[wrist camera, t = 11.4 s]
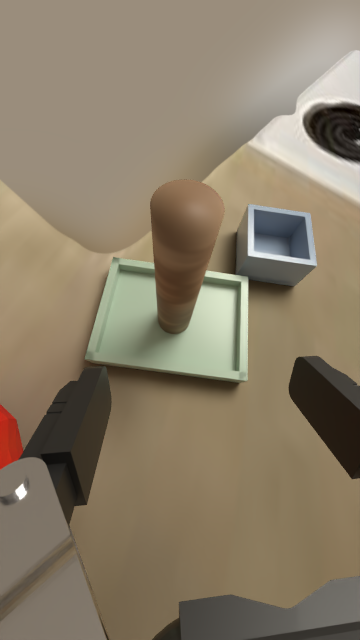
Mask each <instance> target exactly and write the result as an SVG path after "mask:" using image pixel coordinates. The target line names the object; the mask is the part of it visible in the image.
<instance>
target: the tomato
mask: <svg viewBox="0 0 360 640" xmlns="http://www.w3.org/2000/svg"><path fill="white" fill-rule="evenodd" d="M22 453H23V448H22V443H21V439H20V434H19V430H18V425H17V421H16V419H15V418H14V417H13V416H12V415H11V414H10V413H9V412H8V411H7V410H6V409H5V408H4V407H3V406H2V405H0V470H1V469H2V468H4V467H5V466H7V465H8V464H10V463H12V462H14V461H17V460H18V459H19V458H20V456H21V455H22Z"/></svg>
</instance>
